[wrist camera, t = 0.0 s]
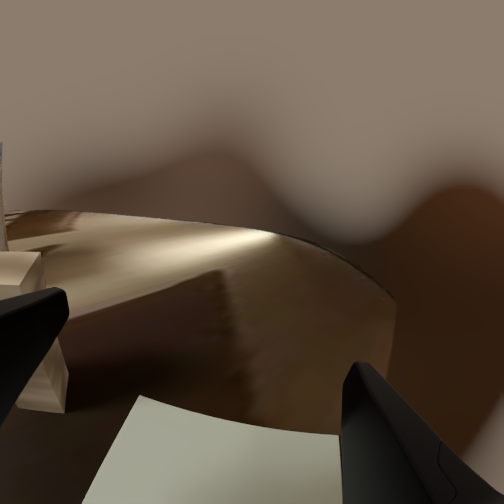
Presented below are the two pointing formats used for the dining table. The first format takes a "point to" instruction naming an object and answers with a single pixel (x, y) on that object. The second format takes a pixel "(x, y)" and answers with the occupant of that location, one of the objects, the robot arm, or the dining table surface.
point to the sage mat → (214, 462)
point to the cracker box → (2, 212)
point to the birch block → (53, 365)
